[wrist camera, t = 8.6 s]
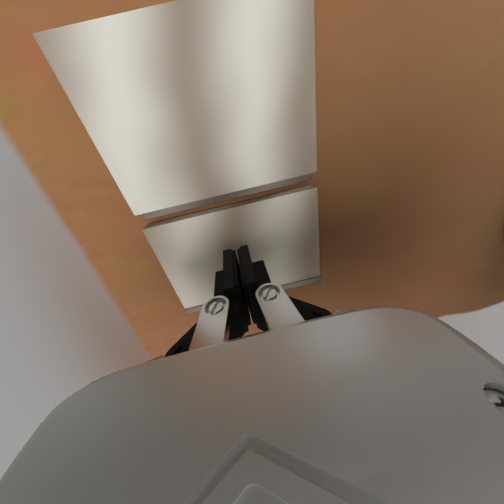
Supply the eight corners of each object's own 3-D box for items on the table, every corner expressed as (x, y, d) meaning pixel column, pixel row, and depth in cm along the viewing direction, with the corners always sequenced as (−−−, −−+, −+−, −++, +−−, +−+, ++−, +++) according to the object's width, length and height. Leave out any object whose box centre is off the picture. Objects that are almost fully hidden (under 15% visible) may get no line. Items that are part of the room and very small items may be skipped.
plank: (310, 184, 13) (318, 187, 12) (314, 272, 17) (321, 281, 16) (148, 223, 13) (141, 230, 12) (189, 303, 17) (187, 314, 16)
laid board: (302, -10, 9) (313, -31, 8) (309, 179, 13) (317, 181, 12) (56, 47, 8) (32, 33, 7) (146, 218, 13) (139, 224, 12)
